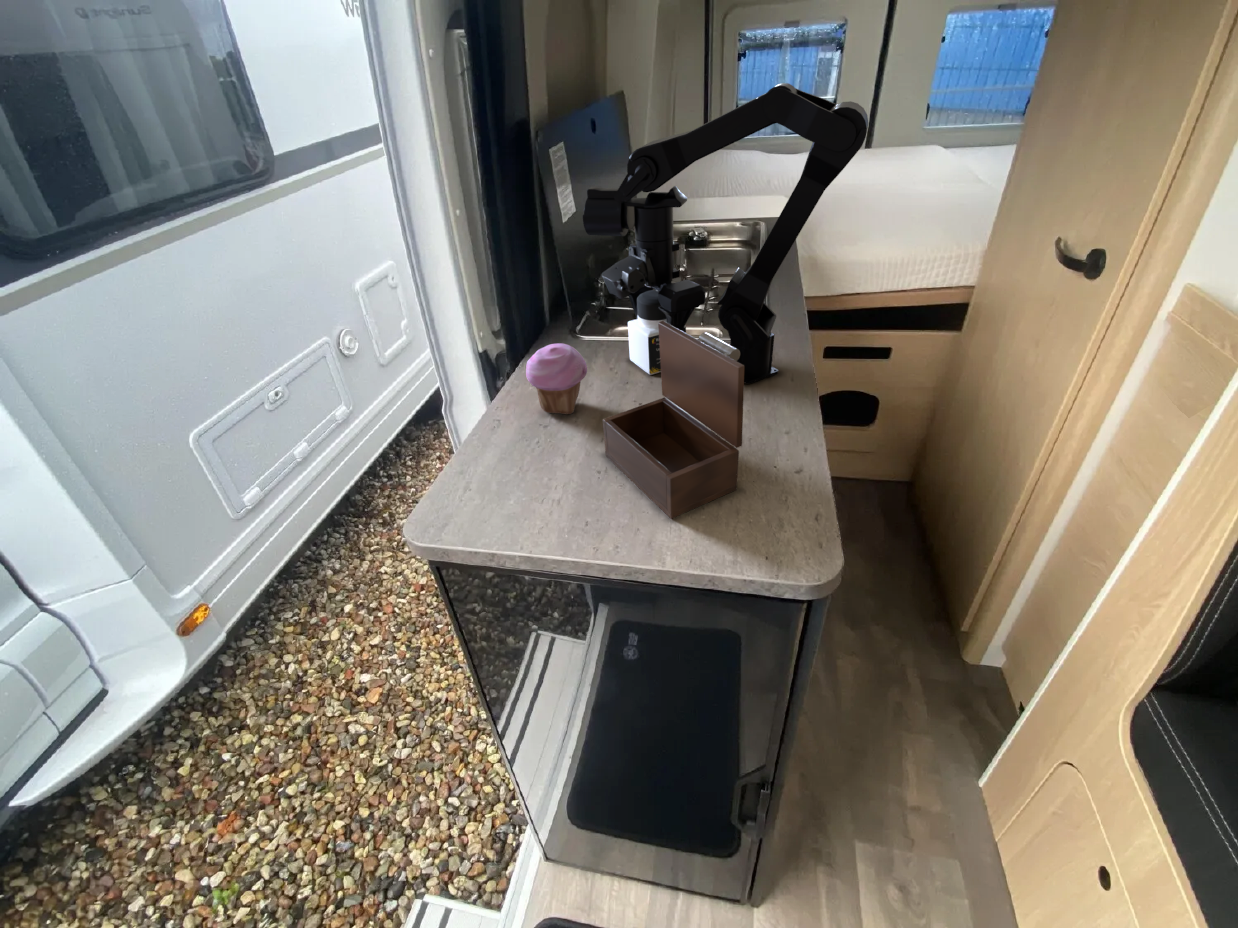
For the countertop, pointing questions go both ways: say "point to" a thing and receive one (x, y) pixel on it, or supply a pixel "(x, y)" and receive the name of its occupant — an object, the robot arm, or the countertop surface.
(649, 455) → the storage box
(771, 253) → the robot arm
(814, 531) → the countertop surface
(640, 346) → the medicine bottle
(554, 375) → the cupcake
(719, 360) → the hatch
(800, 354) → the countertop surface
